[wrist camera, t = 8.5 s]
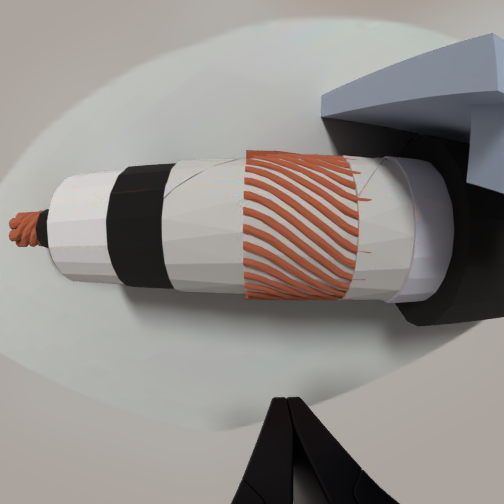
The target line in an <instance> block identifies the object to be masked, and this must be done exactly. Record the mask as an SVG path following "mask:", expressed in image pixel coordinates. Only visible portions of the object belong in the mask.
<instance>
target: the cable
mask: <svg viewBox="0 0 504 504" xmlns="http://www.w3.org/2000/svg"><path fill="white" fill-rule="evenodd" d="M469 150H470V144H469V143H465V142H460V141H455V140H450V139H445V138H440V137H435V136H429V135H423V136H420V137H418V138H415V139H413V140H410V141H409V142H408V143H407V144H406V146H405V147H404V148H403V149H402V151H401V152H400V154H399V156H398V157H391V156H385V157H383V158H378V157H376V158H365V157H355V156H344V155H343V156H329V155H302V154H296V153H288V152H281V151H253V150H246V158H229V159H206V160H183V161H178V162H177V163H174V164H158V165H144V166H132V167H128V168H126V169H125V170H115V171H104V172H94V173H85V174H77V175H74V176H71V177H68V178H66V179H65V180H64V181H63V182H62V183H61V185H60V186H59V187H58V188H57V189H56V191H55V193H54V196H53V198H52V201H51V203H50V208H49V209H47V210H45V211H39V212H27V213H18V214H17V216H16V218H12V219H11V220H10V222H9V226H10V228H11V229H15V230H12V231H10V233H9V239H10V240H11V241H16V245H17V246H18V247H27V246H28V245H29V244H30V246H32V247H35V246H36V245H39V246H43V247H46V248H49V249H50V252H51V255H52V258H53V261H54V263H55V265H56V266H57V268H58V269H59V271H60V273H61V274H62V275H64V276H66V277H67V278H69V279H70V280H72V281H80V282H95V283H111V284H125V285H127V286H132V287H147V288H169V289H175V290H179V291H182V292H205V293H239V294H245V295H246V299H258V300H278V299H283V300H317V299H319V300H381V301H384V302H386V303H395V304H396V305H397V307H398V308H399V310H400V311H401V313H402V314H403V316H404V317H405V319H406V320H407V321H408V322H410V323H412V324H414V325H416V326H430V325H441V324H451V323H460V322H469V321H477V320H485V319H493V318H500V317H504V194H503V193H500V192H497V191H494V190H491V189H488V188H484V187H481V186H478V185H474V184H471V183H467V182H466V180H467V172H468V162H469Z"/></svg>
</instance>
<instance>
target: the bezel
mask: <svg viewBox="0 0 504 504" xmlns="http://www.w3.org/2000/svg"><path fill="white" fill-rule="evenodd" d="M321 117H325V118H333V119H340V120H348V121H354V122H361V123H367V124H373V125H379V126H384V127H389V128H394V129H399V130H404V131H409V132H414V133H418V134H422V135H429V136H435V137H440V138H445V139H450V140H455V141H460V142H465V143H469V144H470V150H469V162H468V172H467V180H466V182H467V183H471V184H474V185H478V186H481V187H484V188H488V189H491V190H494V191H497V192H500V193H503V194H504V40H503V39H501V38H500V37H498V36H497V35H495V34H493V33H491V34H487V35H483V36H480V37H476V38H472V39H469V40H465V41H462V42H458V43H455V44H452V45H448V46H445V47H442V48H439V49H436V50H433V51H430V52H427V53H424V54H421V55H418V56H415V57H413V58H410V59H407V60H404V61H402V62H399V63H396V64H394V65H391V66H389V67H386V68H384V69H381V70H379V71H376V72H374V73H371V74H369V75H366V76H364V77H362V78H359V79H357V80H355V81H352V82H350V83H348V84H345V85H343V86H341V87H339V88H337V89H334V90H332V91H330V92H328V93H326V94H324V95H322V106H321Z"/></svg>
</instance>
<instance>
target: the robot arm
mask: <svg viewBox="0 0 504 504" xmlns="http://www.w3.org/2000/svg"><path fill="white" fill-rule="evenodd" d="M293 501H294V504H399V503H398V502H397V501H396V500H394V499H393V498H392V497H391V496H390V495H388V494H387V493H386V492H385V491H384V490H383V489H381V488H380V487H379V486H378V485H377V484H376V483H375V482H374V481H373V480H372V479H371V478H370V477H369V476H368V474H367V473H366V472H365V471H364V470H362V468H361V467H360V466H359V465H358V464H357V462H356V461H355V460H354V459H353V458H352V457H351V456H350V455H349V454H348V453H347V451H346V450H345V449H344V448H343V447H342V446H341V445H340V443H339V442H338V441H337V440H336V439H335V438H334V437H333V436H332V434H331V433H330V432H329V431H328V430H327V428H326V427H325V426H324V425H323V424H322V423H321V421H320V420H319V419H318V418H317V417H316V416H315V415H314V414H313V412H312V411H311V410H310V408H309V407H308V406H307V405H306V404H305V402H304V401H303V400H302V399H301V398H300V397H288V398H285V397H274V398H273V399H272V401H271V404H270V407H269V409H268V412H267V415H266V418H265V420H264V423H263V426H262V429H261V432H260V434H259V437H258V440H257V442H256V445H255V447H254V450H253V453H252V455H251V458H250V461H249V463H248V465H247V468H246V470H245V473H244V476H243V478H242V481H241V483H240V485H239V487H238V490H237V492H236V494H235V496H234V498H233V500H232V503H231V504H293Z"/></svg>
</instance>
